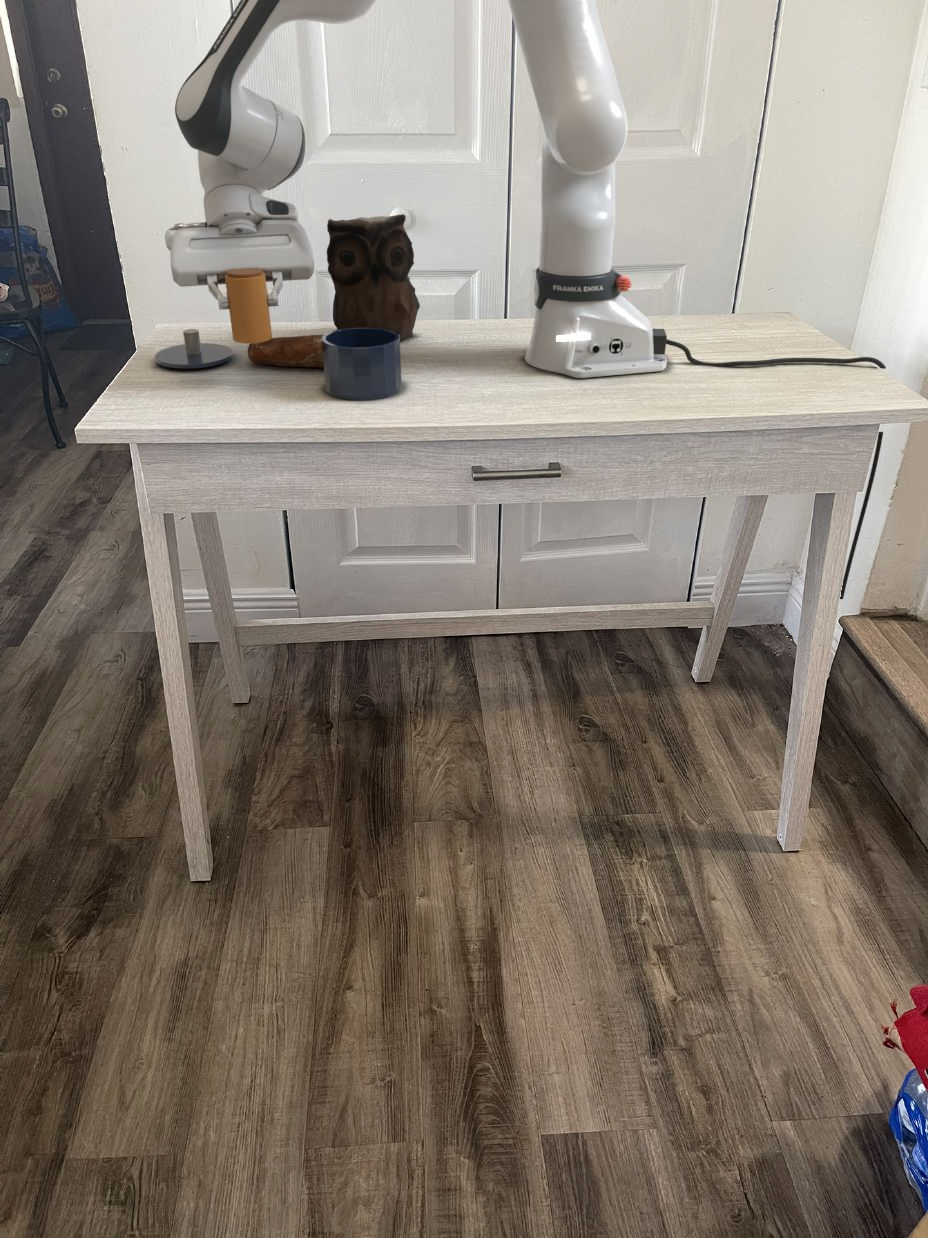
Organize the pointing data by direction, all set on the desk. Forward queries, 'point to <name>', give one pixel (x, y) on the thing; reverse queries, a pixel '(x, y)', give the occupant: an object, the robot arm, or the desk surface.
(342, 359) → the pot
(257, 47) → the robot arm
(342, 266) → the owl
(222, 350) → the pot lid
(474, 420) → the desk surface
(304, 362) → the bread
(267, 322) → the tall brown tube
